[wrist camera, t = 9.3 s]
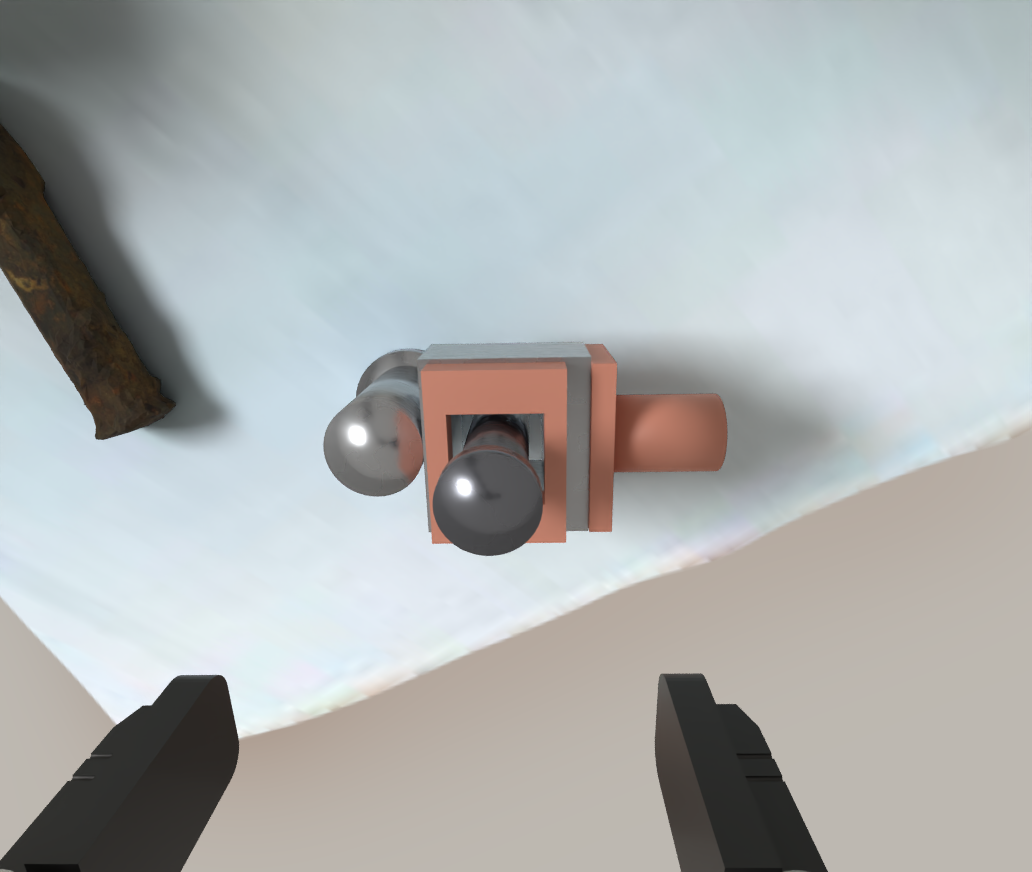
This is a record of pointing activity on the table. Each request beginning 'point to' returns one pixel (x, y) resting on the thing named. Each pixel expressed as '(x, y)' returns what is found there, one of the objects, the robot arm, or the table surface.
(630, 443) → the bracket
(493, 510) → the steel pin
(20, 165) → the hand tool
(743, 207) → the table surface
